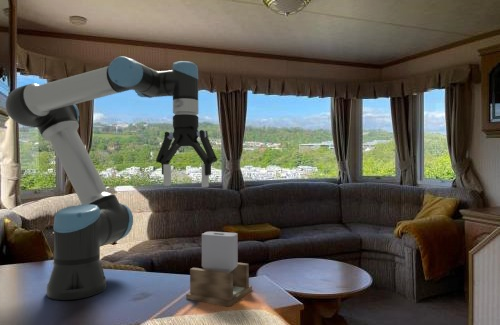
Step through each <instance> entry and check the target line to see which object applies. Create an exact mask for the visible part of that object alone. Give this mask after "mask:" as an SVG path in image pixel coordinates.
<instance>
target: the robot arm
mask: <svg viewBox="0 0 500 325" xmlns="http://www.w3.org/2000/svg"><path fill="white" fill-rule="evenodd" d="M199 80H200V79H199V67H198V65H197V64H196V63H194V62H193V61H186V60H184V61H183V60H180V61H175V62H173V64H172V68H171V70H170V69H169V70H161V71H160V70H159V71H158V70H155V69H153V68H151V67H148V66H146V65H145V64H143V63H140V62H139V61H138V60H135V59H134V58H130V57H128V56H117V57H115V58H114V59H113V60H112V61H111V62H110V63H109V66H104V67H100V68H98V69H93V70H90V71H87V72H83V73H79V74H75V75H71V76H68V77H64V78H60V79H57V80H54V81H50V82H46V83H43V84H38V83H34V82H33V83H29V84H26V85H22V86H18V87H17V88H15V89H13V90H11V92H10V93H9V94H8V96H7V97H6V101H5V110H6V113H7V114H8V116H9V117H10V118H11V119H12V120H13V121H14V122H15V123H17V124H18V125H21V126H25V127H30V128H37V130H38V131H39V134H40V136H41V137H42V138H43V140H46V141H48V142H50V144H51V145H52V148H53V150H54V151H55V154H56V156H57V158H58V160H59V161H60V164H61V166H62V168H63V169H64V171H65V173H66V176H67V178H68V179H69V182H70V183H71V186H72V187H73V190H74V192H75V193H76V196H77V197H78V200H79V202H80V204H78V205H72V206H67V207H64V208H61V209H59V210H58V211H57V212H56V213H55V215H54V221H53V226H52V228H53V268H52V271H51V274H50V277H49V281H48V284H47V285H46V296H47V297H48V298H49V299H52V300H57V301H58V300H59V301H69V300H78V299H83V298H88V297H92V296H96V295H98V294H100V293H102V292H104V291H105V290H106V289H107V277H106V275H105V271H104V269H103V266H102V263H101V258H100V256H101V253H100V252H101V250H100V248H101V247H102V246H105V245H108V244H112V243H116V242H118V241H119V240H120V241H121V239H124V238H125V237H127V236H128V235H129V233H130V232H131V230H132V229H133V228H132V227H133V225H134V215H133V212H132V210H131V208H129V206H128V205H126V204H124V203H122V202H121V203H120V201H119V199H118V197H117V196H116V194H114V193H111V192H109V191H108V189H107V188H106V185H105V183H104V181H103V179H102V177H101V176H100V173H99V172H98V170H97V168H96V166H95V164H94V162H93V160H92V158H91V157H90V154H89V152H88V150H87V148H86V145H85V144H84V143H83V141H82V139H81V137H80V134H79V132H78V130H79V127H80V124H79V122H80V118H79V117H80V110H79V108H78V105H77V104H81V103H84V102H88V101H92V100H96V99H101V98H104V97H107V96H112V95H115V94H119V93H124V92H127V91H134V92H135V93H136V95H137V96H138V97H140V98H149V99H151V98H158V97H159V98H161V97H172V114H174V115H172V128H173V132H170V131H165V132H164V137H163V141H162V144H161V146H160V149H159V151H158V154H157V156H156V159H155V162H156V163H159V164H161V175H162V176H163V178H162V180H163V182H162V184H163V187H170V186H172V164H171V163H170V162H171V161H172V159H173V157H174V156H175V155H176V154H177V152H178V150H179V149H180V148H182V147H191V148H192V149H193V150H194V151H195V153H196V154H197V156H199V158H200V160H201V161H202V162H203V163H202V164H201V188H208V187H210V180H209V179H210V176H211V175H212V164H213V163H217V162H218V158H217V156H216V153H215V151H214V149H213V146H212V144H211V142H210V138H209V134H208V131H207V130H204V129H201V130H198V128H199V116H198V114H199ZM198 138H199V139H200V142H201V143H200V142H199V141H198ZM201 144H202V146H201Z"/></svg>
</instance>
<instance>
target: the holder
mask: <svg viewBox="0 0 500 325" xmlns="http://www.w3.org/2000/svg"><path fill="white" fill-rule="evenodd" d="M249 268H250V264H249V263H245V262H244V263H243V262H238V266H237V267H236V268H235V269H234V270H232V271H231V272H230V273H228V272H221V271H214V270H207V269H204V268H199V267H192V268H190V269H189V284H190V285H189V292H188V293H186V297H185V299H186V300H192V301H196V302H202V303H206V304H213V305H218V306H224V307H228V308H230V307H232V306H233V305H234V304H236V303H238V301H240V300H241V299H242V298H244V297H245V296H247V295H248V294H249V293H250V292H252V291H253V285H250V280H249V279H250V276H249V274H250V273H249V272H250V269H249Z"/></svg>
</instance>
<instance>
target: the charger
mask: <svg viewBox="0 0 500 325" xmlns="http://www.w3.org/2000/svg"><path fill="white" fill-rule="evenodd" d="M238 236H239V235H238V232H237V233H236V232H225V231H224V232H223V231H205V232H204V233H203V232H202V233H201V267H202V269H207V270H214V271H221V272H228V273H230V272H231V271H232V270H234V269H235V268H236V267H237V266H238V263H239V262H238V261H239V260H238V259H239V257H238V256H239V251H238V250H239V249H238V248H239V247H238V246H239V244H238V242H239V241H238V240H239V239H238Z"/></svg>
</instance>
